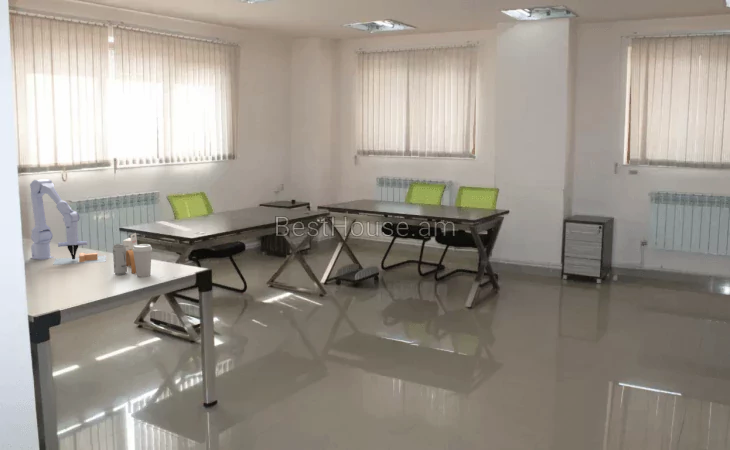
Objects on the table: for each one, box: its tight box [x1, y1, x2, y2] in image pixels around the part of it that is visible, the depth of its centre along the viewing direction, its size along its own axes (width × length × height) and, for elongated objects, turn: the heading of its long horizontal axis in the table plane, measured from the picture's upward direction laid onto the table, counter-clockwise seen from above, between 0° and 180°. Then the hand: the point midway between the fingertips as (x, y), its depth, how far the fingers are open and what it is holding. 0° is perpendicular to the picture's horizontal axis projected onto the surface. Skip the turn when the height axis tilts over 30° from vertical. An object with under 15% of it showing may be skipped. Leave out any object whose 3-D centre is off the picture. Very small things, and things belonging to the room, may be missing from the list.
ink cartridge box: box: [122, 232, 138, 251], centre depth 362 cm, size 9×5×15 cm, turn 179°
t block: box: [78, 252, 99, 262], centre depth 362 cm, size 9×10×3 cm
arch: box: [126, 250, 136, 274], centre depth 341 cm, size 6×20×10 cm, turn 28°
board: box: [52, 255, 107, 266], centre depth 360 cm, size 26×18×1 cm
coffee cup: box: [132, 243, 153, 278], centre depth 326 cm, size 10×10×15 cm
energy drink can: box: [112, 242, 128, 276], centre depth 329 cm, size 6×6×15 cm
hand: (73, 258), depth 359 cm, fingers closed
